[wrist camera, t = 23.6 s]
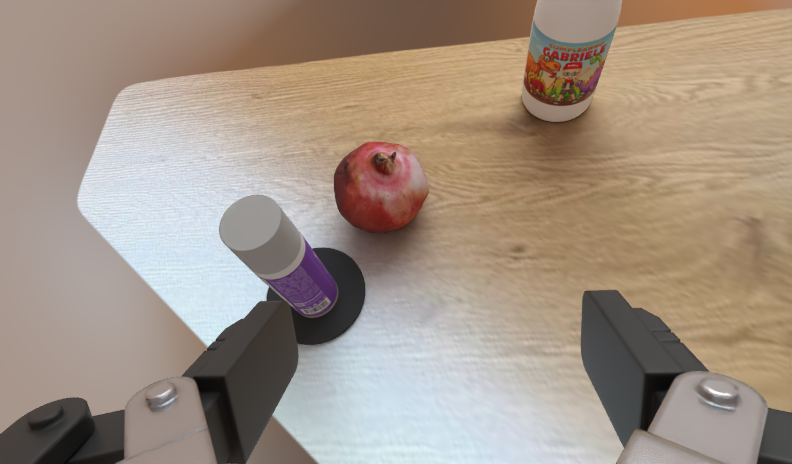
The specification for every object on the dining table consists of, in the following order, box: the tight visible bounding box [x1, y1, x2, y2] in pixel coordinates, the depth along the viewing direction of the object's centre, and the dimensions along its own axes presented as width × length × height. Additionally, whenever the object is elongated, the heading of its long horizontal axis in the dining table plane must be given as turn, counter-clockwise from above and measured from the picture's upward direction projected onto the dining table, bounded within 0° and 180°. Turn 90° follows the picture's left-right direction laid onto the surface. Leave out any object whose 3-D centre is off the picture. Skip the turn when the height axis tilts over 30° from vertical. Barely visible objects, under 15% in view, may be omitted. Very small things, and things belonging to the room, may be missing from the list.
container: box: [219, 195, 338, 318], centre depth 37 cm, size 5×5×15 cm
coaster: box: [267, 248, 365, 345], centre depth 44 cm, size 10×10×1 cm
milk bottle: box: [522, 0, 622, 122], centre depth 42 cm, size 8×8×20 cm
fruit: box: [334, 142, 429, 233], centre depth 43 cm, size 9×10×10 cm
